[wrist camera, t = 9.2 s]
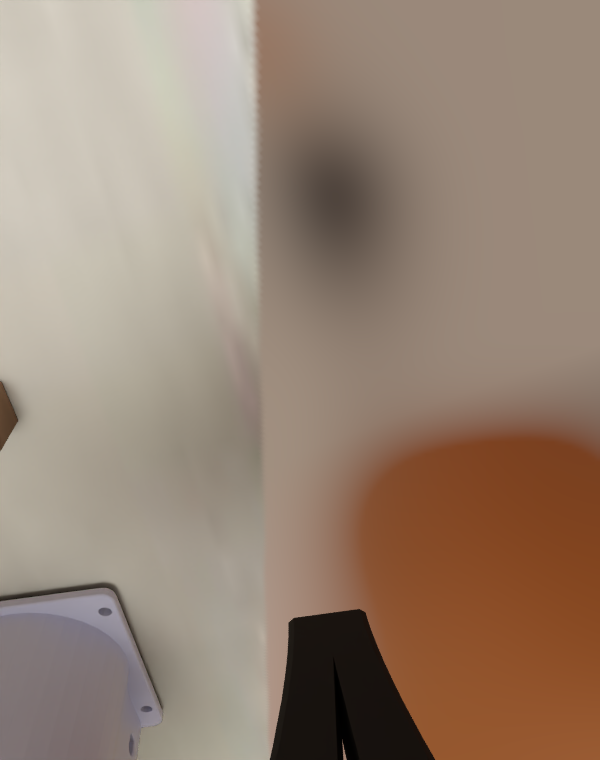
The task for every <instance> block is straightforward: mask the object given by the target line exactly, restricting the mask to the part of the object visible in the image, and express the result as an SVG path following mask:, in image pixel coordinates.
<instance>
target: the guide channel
mask: <svg viewBox="0 0 600 760" xmlns="http://www.w3.org/2000/svg"><path fill="white" fill-rule="evenodd" d="M17 422H18V420H17V417H16V415H15V413H14V410H13V408H12V406H11V403H10V401H9V399H8V396H7V394H6V392H5V389H4V387H3V385H2V382H0V451H1V449H2V448H3V446H4V444H5V442H6V441H7V439H8V437H9V435H10V434H11V432H12V430H13V429H14V427H15V425H16V423H17Z"/></svg>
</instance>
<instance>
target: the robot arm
mask: <svg viewBox="0 0 600 760" xmlns="http://www.w3.org/2000/svg"><path fill="white" fill-rule="evenodd" d="M162 718H163V711H162V708H161V706H160V703H159V701H158V698H157V696H156V693H155V691H154V688H153V686H152V683H151V681H150V678H149V676H148V673H147V671H146V668H145V666H144V663H143V661H142V658H141V656H140V653H139V651H138V648H137V646H136V643H135V641H134V638H133V636H132V633H131V631H130V628H129V626H128V623H127V621H126V618H125V616H124V613H123V611H122V608H121V606H120V603H119V601H118V598H117V596H116V594H115V593H114V591H112V590H110V589H108V588H95V589H88V590H80V591H73V592H65V593H58V594H50V595H43V596H35V597H28V598H21V599H13V600H6V601H0V760H137V753H138V746H139V739H140V733H141V728H143V727H150V726H155V725H158V724H160V723H161V722H162ZM342 740H343V745H344V750H345V754H346V758H347V760H435V759H434V757H433V755H432V753H431V752H430V750H429V748H428V746H427V745H426V743H425V741H424V740H423V738H422V736H421V734H420V732H419V730H418V729H417V726H416V725H415V723H414V721H413V719H412V717H411V715H410V713H409V712H408V710H407V708H406V706H405V704H404V702H403V701H402V698H401V696H400V694H399V692H398V690H397V688H396V686H395V684H394V682H393V680H392V678H391V676H390V674H389V671H388V669H387V667H386V665H385V663H384V661H383V659H382V656H381V654H380V651H379V649H378V647H377V644H376V642H375V639H374V636H373V634H372V631H371V628H370V625H369V622H368V619H367V616H366V613H365V612H364V611H362V610H360V609H357V610H349V611H342V612H335V613H328V614H320V615H312V616H305V617H298V618H293V619H292V620H291V621H290V622H289V638H288V655H287V665H286V674H285V681H284V688H283V694H282V702H281V706H280V712H279V718H278V722H277V727H276V733H275V738H274V743H273V748H272V753H271V757H270V760H343V746H342Z"/></svg>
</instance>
